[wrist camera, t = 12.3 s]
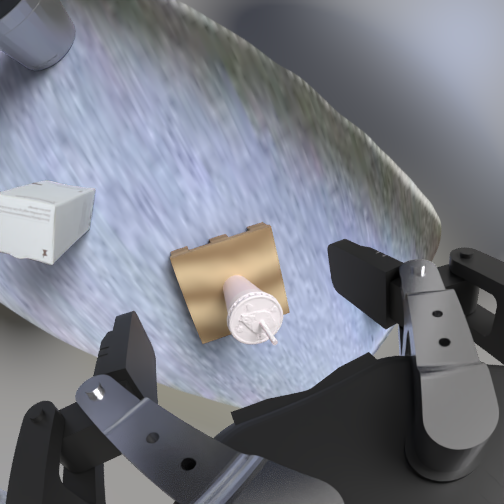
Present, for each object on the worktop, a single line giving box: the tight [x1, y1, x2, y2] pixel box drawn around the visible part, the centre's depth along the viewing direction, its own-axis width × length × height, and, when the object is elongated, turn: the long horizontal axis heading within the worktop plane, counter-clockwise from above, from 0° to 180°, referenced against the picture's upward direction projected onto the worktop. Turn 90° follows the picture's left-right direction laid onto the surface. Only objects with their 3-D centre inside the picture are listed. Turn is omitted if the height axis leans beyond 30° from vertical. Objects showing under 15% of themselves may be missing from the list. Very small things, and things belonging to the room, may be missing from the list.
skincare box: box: [0, 180, 96, 265], centre depth 27 cm, size 8×6×15 cm
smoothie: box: [223, 275, 283, 345], centre depth 35 cm, size 6×6×14 cm
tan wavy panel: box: [170, 222, 290, 344], centre depth 43 cm, size 14×14×3 cm
